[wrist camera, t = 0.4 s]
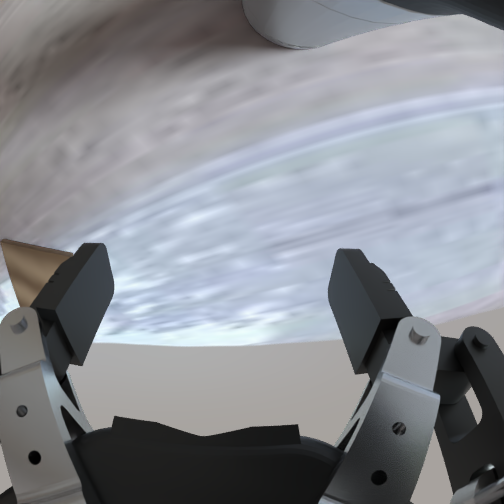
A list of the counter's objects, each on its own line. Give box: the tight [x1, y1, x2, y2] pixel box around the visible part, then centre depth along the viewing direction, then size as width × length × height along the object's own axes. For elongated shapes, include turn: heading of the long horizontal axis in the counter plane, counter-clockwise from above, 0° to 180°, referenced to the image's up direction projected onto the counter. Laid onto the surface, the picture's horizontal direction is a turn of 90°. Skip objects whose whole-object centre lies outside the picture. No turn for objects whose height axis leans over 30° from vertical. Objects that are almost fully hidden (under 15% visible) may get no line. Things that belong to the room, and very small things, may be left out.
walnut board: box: [1, 239, 73, 307], centre depth 32 cm, size 12×12×1 cm
